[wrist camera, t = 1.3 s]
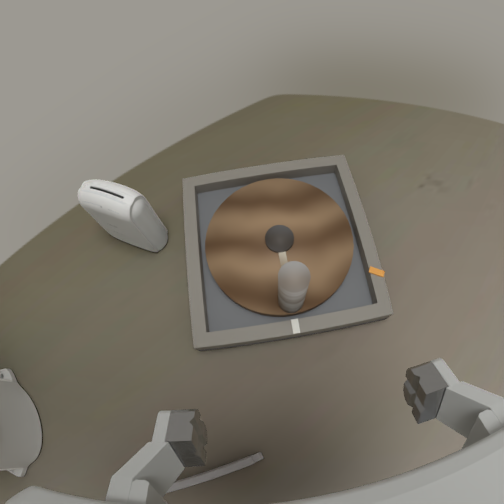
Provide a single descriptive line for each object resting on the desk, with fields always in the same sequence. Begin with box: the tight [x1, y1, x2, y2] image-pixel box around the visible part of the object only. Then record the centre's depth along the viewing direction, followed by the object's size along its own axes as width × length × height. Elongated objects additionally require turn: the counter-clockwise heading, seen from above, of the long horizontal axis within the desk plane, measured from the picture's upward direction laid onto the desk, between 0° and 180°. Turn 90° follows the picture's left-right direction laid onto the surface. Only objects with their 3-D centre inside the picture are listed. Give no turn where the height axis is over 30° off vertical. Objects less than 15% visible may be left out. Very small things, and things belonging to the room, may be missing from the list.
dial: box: [205, 178, 354, 317], centre depth 38 cm, size 19×19×11 cm
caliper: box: [166, 452, 264, 493], centre depth 30 cm, size 20×1×6 cm, turn 114°
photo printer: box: [78, 179, 168, 252], centre depth 41 cm, size 10×4×12 cm, turn 69°
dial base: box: [183, 155, 393, 351], centre depth 42 cm, size 24×24×3 cm
